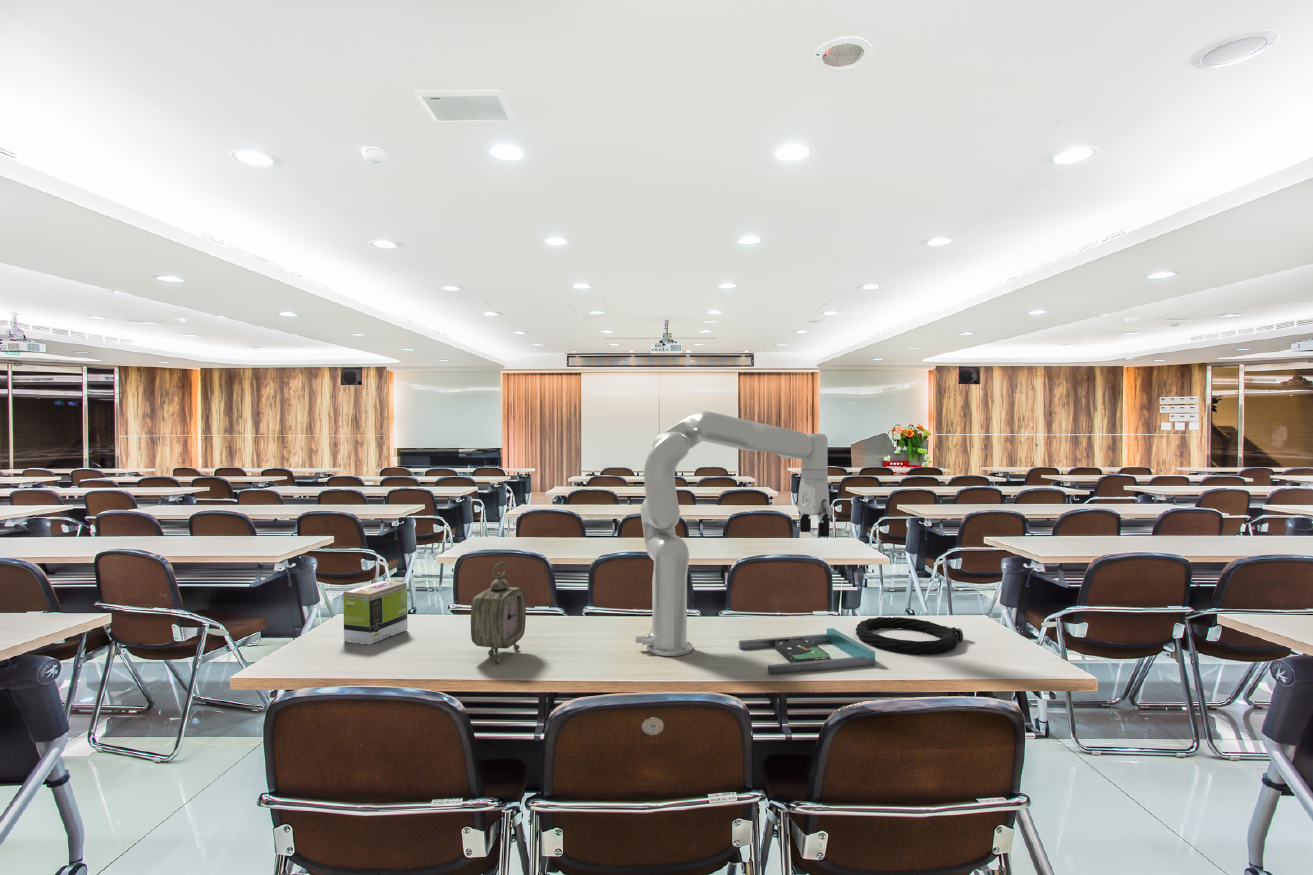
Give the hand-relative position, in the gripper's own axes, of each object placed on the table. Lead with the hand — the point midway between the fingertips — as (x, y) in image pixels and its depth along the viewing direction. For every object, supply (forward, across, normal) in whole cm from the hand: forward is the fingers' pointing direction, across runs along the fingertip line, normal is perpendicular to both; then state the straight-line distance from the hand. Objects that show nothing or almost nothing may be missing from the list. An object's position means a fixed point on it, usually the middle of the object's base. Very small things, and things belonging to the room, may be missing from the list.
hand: (814, 534), depth 180 cm
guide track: (+30, +12, -11) cm, 35 cm away
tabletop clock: (+31, -13, -89) cm, 95 cm away
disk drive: (+31, +12, -12) cm, 36 cm away
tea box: (+31, -41, -122) cm, 132 cm away
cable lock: (+31, +9, +26) cm, 41 cm away
